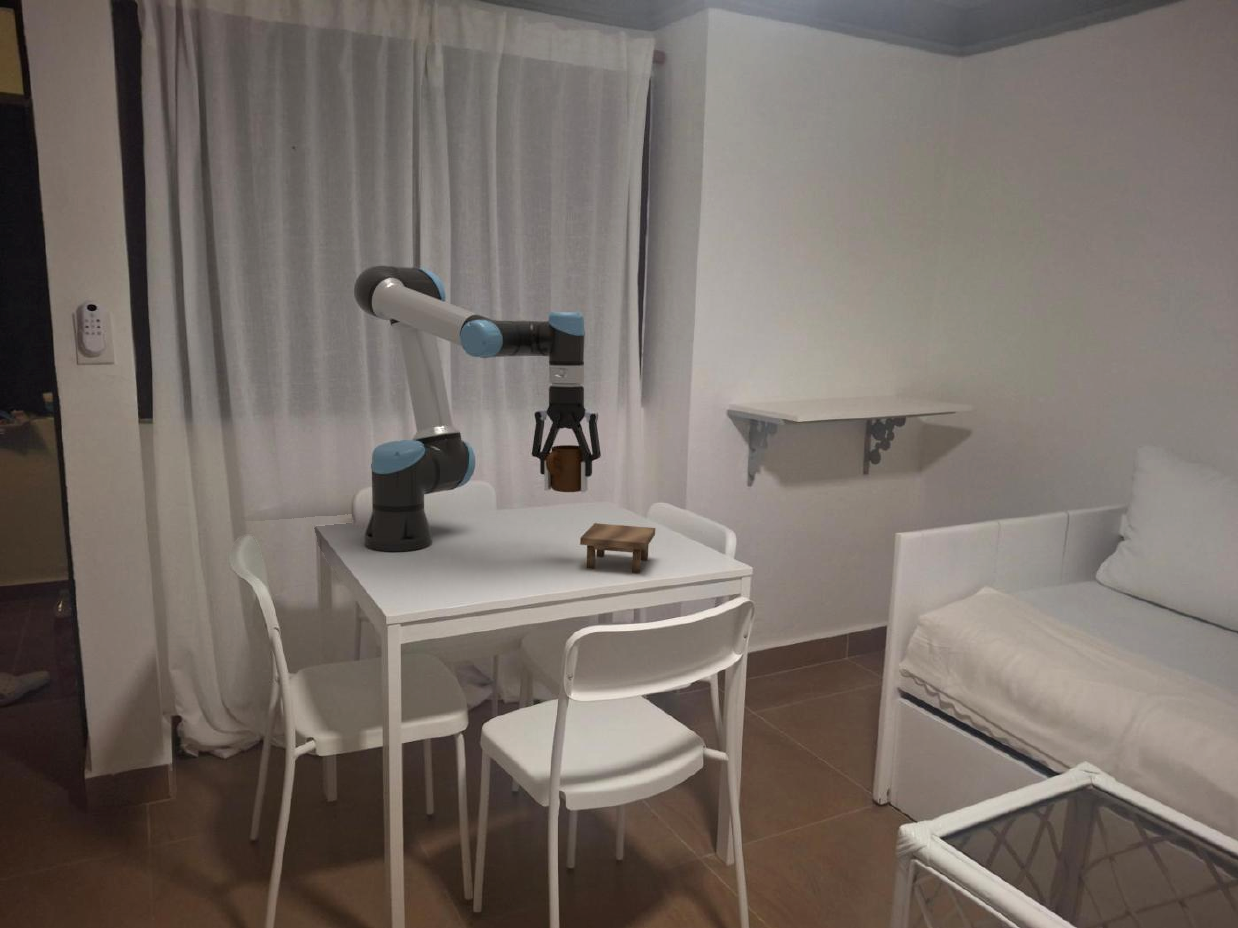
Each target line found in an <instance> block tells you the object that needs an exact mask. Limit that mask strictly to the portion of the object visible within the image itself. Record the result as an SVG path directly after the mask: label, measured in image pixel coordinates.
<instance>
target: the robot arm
mask: <svg viewBox="0 0 1238 928" xmlns="http://www.w3.org/2000/svg"><path fill="white" fill-rule="evenodd" d="M353 293H354V294H353V295H354V299H355V302H356V303H357V305H358V307H359V308H360V309H361V310H362V311H364V312H365V313H367V315H370V316H374V317H376V318H377V319H381V320H383V321H389V322H390V328H391V329H393V330H394V331H395V332H397V333H398V336H399V341H400V342H399V343H400V345H401V346H400V347H401V351H402V357H403V362H404V368H405V374H406V380H407V383H408V391H409V396H410V401H411V406H412V412H413V416H414V417H413V418H414V423H415V428H416V433H415V434H414V436H413V437H412V439H406V440H405V439H402V440H394V441H388V442H385V443H381V444H380V445H378V446H376V447H375V448H374V449H373V452H372V455H371V464H370V469H371V490H372V491H371V502H372V507H371V508H372V511H371V515H370V518H369V522H368V523H367V527H366V529H365V533H364V545H365V546H366V547H367V548H368V549H372V550H375V551H380V552H407V551H408V552H409V551H416V550H419V549H420V550H421V549H424V548H427V547H430V546H431V544H432V543H433V533H432V530H431V527H430V523H429V520H428V517H427V515H426V513H425V495H428V494H429V495H430V494H434V493H439V492H447V491H452V490H455V489H457V488H458V489H459V488H461V487H463V486H465V485H466V484H467V483H468V482H469V481H470V480H471V477H473V475H474V474H475V473H474V472H475V469H476V456H475V455H476V454H475V453H474V450H473V447H472V446H470V444H469V442H467V441H465V440H463V439H462V435H461V431H460V430H459V429H458V428H456V427H454V425H453V420H452V416H451V410H450V404H449V399H448V393H447V387H446V382H445V378H444V371H443V366H442V361H441V355H440V349H439V344H438V339H437V338H439V339H441V340H446V341H447V342H450V343H452V344H455V345H457V346H459V347H461V348H462V349H463V350H464V351H465V353H466V354H467V355H469V356H471V357H474V358H481V359H488V358H500V357H502V358H503V357H504V358H505V357H548V364H549V365H548V383H549V384H551V385H550V386H549V387H548V406H547V409H546V410H538V411H535V412H534V418H535V420H534V421H535V427H534V433H533V442H532V448H531V456H532V457H534V458H537V459H538V460H539V462H540V463H539V465H540V466H539V469H540V471H539V472H540V474H541V475H544V491H550V490H551V489H552V487H551V474H550V473H549V472H548V470H547V467H546V458H547V456H548V454H549V453H551V452H552V447H554V446H553V445H554V443H555V441H556V438H557V435H558V433H559V431H560V429H569V430H572V433H573V435H574V437H575V438H576V442H577V444H578V446H579V447H580V449H581V452H582V454H583V457H584V460H585V461H583V462H581V491H580V492H581V493H586V492H587V491H588V486H589V484H588V483H589V482H588V481H589V479H588V477H589V478H590V477H592V474H593V461H595V460H598V459H600V458H601V457H602V454H601V447H600V446H601V445H600V439H599V432H598V419H599V414H598V412H590V411H587V410H586V408H585V387H584V386H582V385H583V384H584V383H585V361H584V359H585V358H584V357H585V356H584V355H585V354H584V353H585V338H586V336H585V335H586V332H585V319H584V315H583V313H581V312H576V311H575V312H573V311H572V312H571V311H570V312H569V311H556V312H555V311H552V312H550V313H549V315H548V319H547V320H548V321H547V320H546V321H541V320H540V321H539V320H538V321H537V320H496V319H491V318H488V317H486V316H483V315H481V314H478V313H475V312H472V311H471V310H467V309H465V308H462V307H459V306H457V305H455V304H453V303H452V304H451V303H450V302H449V303H448V302H446V291H445V288H444V285H443V283H442V280H441V279H440V278H439V277H438V276H437V275H436V274H434V272H432V271H430V270H428V269H422V268H420V267H414V266H413V267H407V266H406V267H405V266H403V267H401V266H391V265H389V266H388V265H382V264H381V265H380V264H379V265H373V266H370V267H368V268H366V269H365V270H363V271H362V272H361V273H360V274H359V275H358V276H357V278H356V280H355V283H354V287H353ZM547 417H548V418H549V419H550V421H551V422H552V424H551V426H550V429H549V433H548V435H547V438H546V439H545V442H544V445H543V447H542V443H543V435H544V431H545V421H546V420H547ZM584 418H586V422H587V423H588V430H589V431H588V433H589V438H590V439H589V440H590V447H591V450H590V447H589V444H588V441H587V439H586V436H585V433H584V431H583V427H582V423H581V422H582V421H583V419H584Z"/></svg>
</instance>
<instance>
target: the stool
mask: <svg viewBox="0 0 1238 928" xmlns="http://www.w3.org/2000/svg"><path fill="white" fill-rule="evenodd" d="M655 535H656V527H648V526H647V527H646V526H635V525H624V524H623V525H620V524H611V523H610V524H609V523H596V522H595V523H593V524H592V525H591V526H590V528H588V529H587V530H586V531H585V533H584V534H582V536H580V539H579V545H581V546H586V569H589V570H593V569H594V570H595V568H596V557H597V558H605V551H607V552H608V551H609V552H621V553H622V552H623V553H632V564H631V565H632V566H631V572H632V573H633V574H640V573H641V572H642V571H641V568H642V567H641V566H642V565H641V564H642V561H643V562H646V561H648V560H649V547H650V546H649V545H650V544H651V542H652V540H653V539H654V537H655Z"/></svg>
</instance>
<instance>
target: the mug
mask: <svg viewBox="0 0 1238 928" xmlns="http://www.w3.org/2000/svg"><path fill="white" fill-rule="evenodd" d="M583 461H585V460H584V457H583V454H582V452H581V449H580V447H579V445H574V444H566V445H565V444H561V445H554V446H552V448H551V451H550V453H549V454H548V456H547V458H546V467H547V470H548V472H549V473H550V474H551V489H552V490H553V491H555V492H560V493H579V492H581V462H583Z"/></svg>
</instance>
